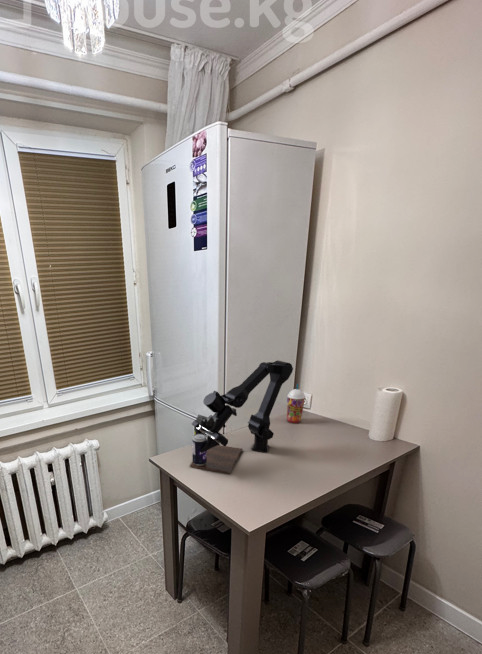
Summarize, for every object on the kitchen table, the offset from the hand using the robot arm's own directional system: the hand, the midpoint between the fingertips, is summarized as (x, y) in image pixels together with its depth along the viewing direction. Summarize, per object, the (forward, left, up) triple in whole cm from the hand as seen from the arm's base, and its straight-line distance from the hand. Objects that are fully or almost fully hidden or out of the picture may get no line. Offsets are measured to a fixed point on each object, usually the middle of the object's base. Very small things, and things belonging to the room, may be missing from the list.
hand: (196, 449), depth 143 cm
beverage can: (-1, +1, -7) cm, 7 cm away
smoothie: (-63, +31, -8) cm, 71 cm away
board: (-9, +6, -8) cm, 13 cm away
